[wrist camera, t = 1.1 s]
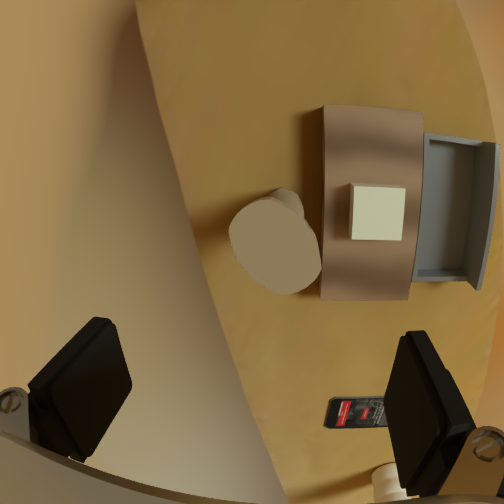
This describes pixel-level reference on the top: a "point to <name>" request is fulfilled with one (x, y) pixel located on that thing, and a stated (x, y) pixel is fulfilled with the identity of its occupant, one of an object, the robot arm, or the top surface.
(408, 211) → the board
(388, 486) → the water bottle
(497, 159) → the box
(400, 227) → the tile
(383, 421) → the smartphone
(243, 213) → the handle
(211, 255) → the top surface
